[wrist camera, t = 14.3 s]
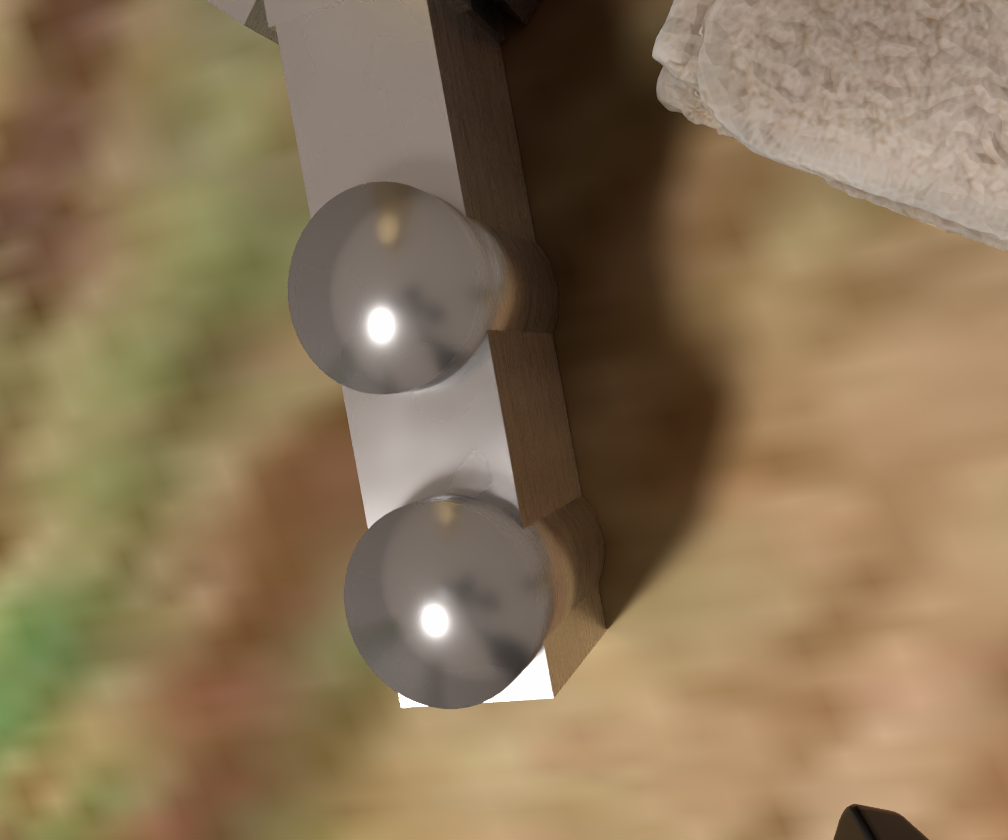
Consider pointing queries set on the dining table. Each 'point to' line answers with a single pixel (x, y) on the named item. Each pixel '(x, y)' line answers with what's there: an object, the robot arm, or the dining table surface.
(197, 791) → the dining table surface
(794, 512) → the dining table surface
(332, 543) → the dining table surface
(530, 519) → the chain joint
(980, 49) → the washcloth
